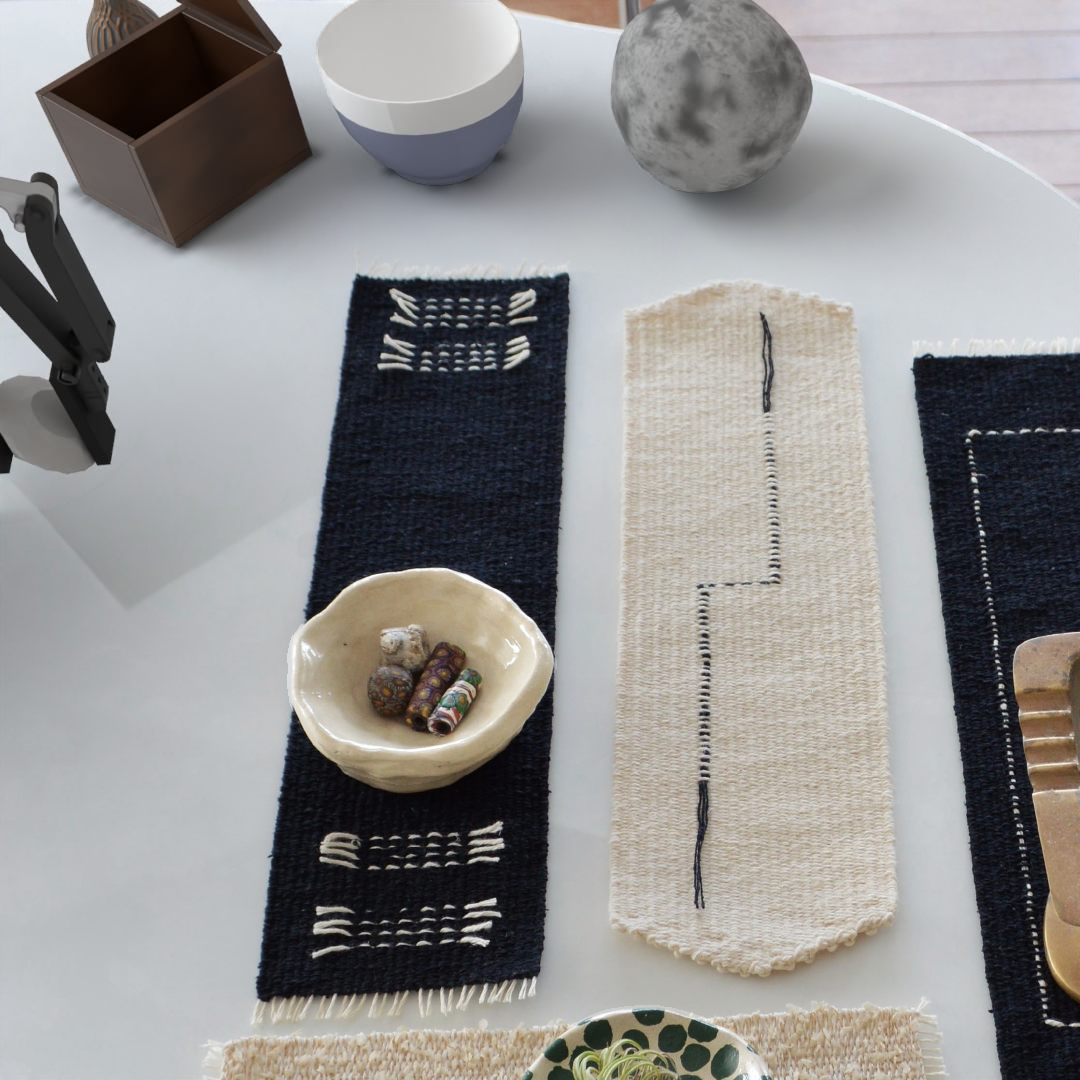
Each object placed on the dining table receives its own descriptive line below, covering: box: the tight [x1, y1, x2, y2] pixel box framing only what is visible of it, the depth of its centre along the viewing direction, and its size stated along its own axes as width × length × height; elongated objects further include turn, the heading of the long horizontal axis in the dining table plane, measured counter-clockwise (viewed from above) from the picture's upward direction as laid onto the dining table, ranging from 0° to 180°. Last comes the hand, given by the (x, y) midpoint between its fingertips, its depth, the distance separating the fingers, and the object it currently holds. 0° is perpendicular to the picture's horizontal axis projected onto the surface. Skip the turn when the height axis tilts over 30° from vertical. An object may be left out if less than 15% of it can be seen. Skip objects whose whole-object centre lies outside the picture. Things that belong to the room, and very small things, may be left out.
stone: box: [610, 0, 814, 194], centre depth 111 cm, size 15×16×15 cm
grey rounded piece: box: [0, 374, 96, 475], centre depth 82 cm, size 6×6×5 cm
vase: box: [85, 0, 161, 60], centre depth 121 cm, size 7×7×9 cm
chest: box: [34, 3, 313, 248], centre depth 115 cm, size 15×12×9 cm
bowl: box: [314, 0, 525, 186], centre depth 116 cm, size 16×16×10 cm
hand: (56, 451), depth 83 cm, fingers closed on grey rounded piece, 5 cm apart
